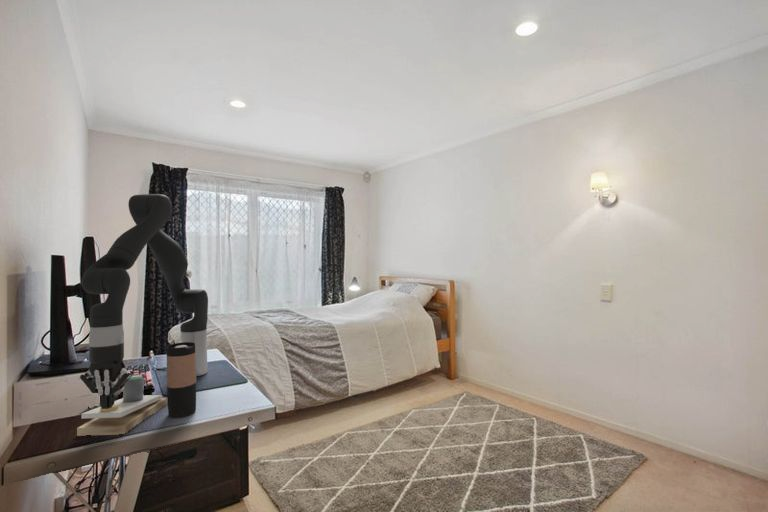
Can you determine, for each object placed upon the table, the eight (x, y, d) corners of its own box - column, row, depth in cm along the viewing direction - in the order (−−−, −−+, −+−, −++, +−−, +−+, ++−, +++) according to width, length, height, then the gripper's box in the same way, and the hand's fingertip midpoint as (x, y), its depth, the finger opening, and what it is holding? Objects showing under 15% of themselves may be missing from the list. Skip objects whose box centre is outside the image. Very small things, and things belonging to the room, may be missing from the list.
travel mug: (169, 410, 113) (168, 343, 113) (198, 406, 116) (196, 341, 116) (165, 420, 106) (163, 349, 106) (195, 415, 109) (194, 346, 109)
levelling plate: (128, 399, 117) (130, 373, 118) (161, 398, 117) (162, 372, 118) (81, 418, 98) (83, 386, 99) (120, 417, 98) (122, 385, 99)
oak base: (127, 405, 118) (127, 398, 118) (166, 404, 118) (166, 397, 118) (77, 435, 98) (77, 428, 98) (124, 434, 98) (124, 426, 98)
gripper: (140, 339, 105) (141, 402, 104) (92, 340, 104) (92, 403, 104) (122, 345, 97) (123, 413, 97) (70, 346, 97) (70, 414, 96)
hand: (107, 408), depth 100 cm, fingers closed
